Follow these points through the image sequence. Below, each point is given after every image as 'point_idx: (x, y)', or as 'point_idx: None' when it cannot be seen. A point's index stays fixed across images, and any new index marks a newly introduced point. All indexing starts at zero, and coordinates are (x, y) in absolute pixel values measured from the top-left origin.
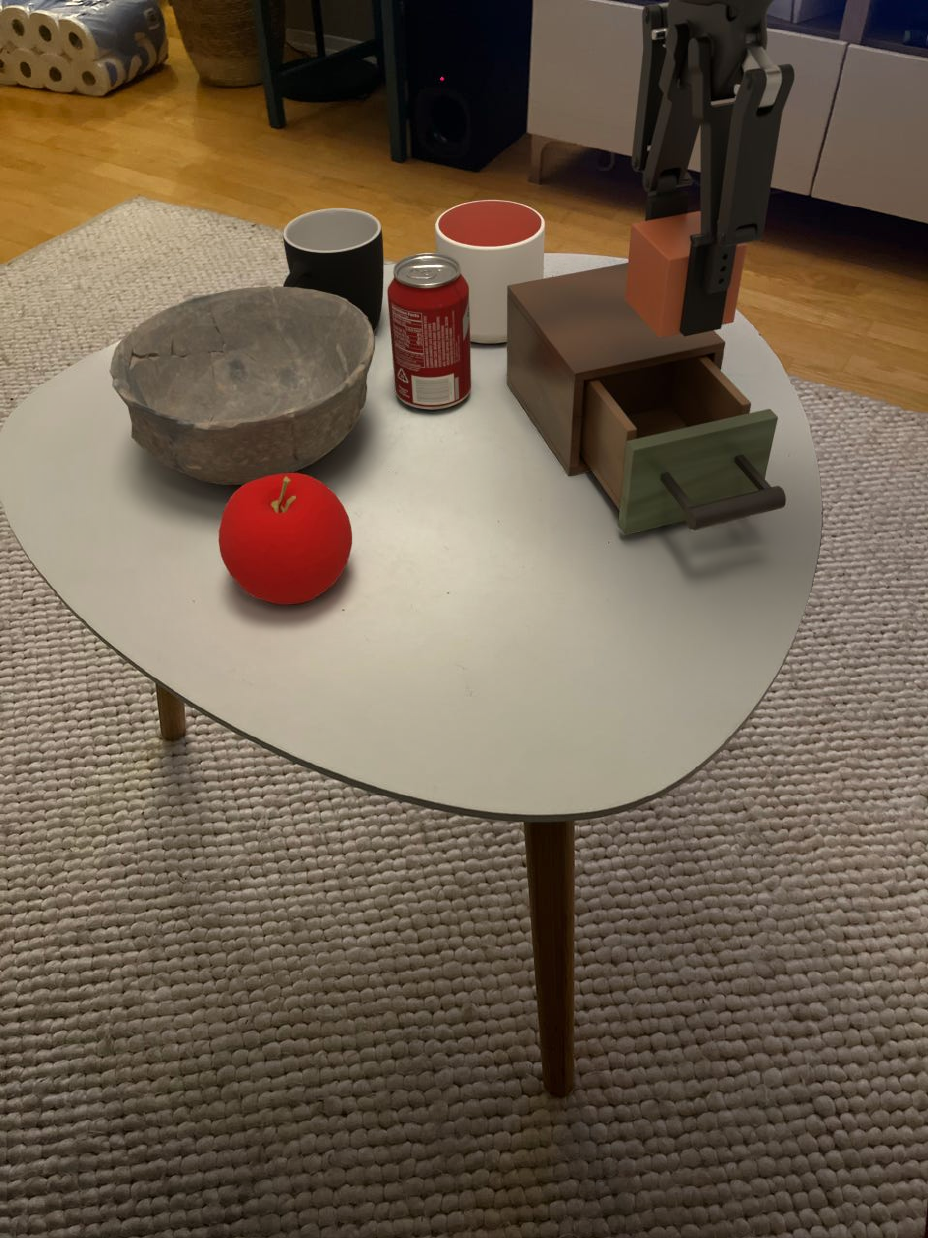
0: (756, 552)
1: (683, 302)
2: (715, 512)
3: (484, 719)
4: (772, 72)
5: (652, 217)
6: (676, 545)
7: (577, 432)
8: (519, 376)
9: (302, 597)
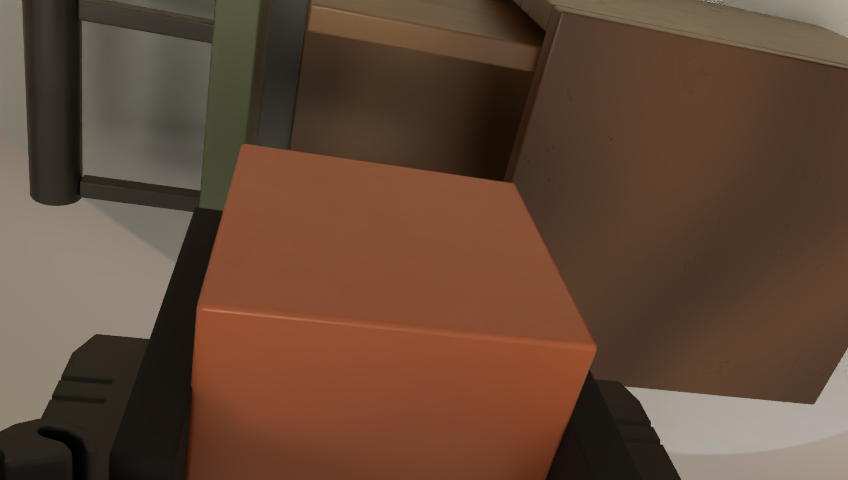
0: (123, 130)
1: None
2: (27, 39)
3: None
4: None
5: (568, 433)
6: (202, 15)
7: None
8: (787, 26)
9: None
